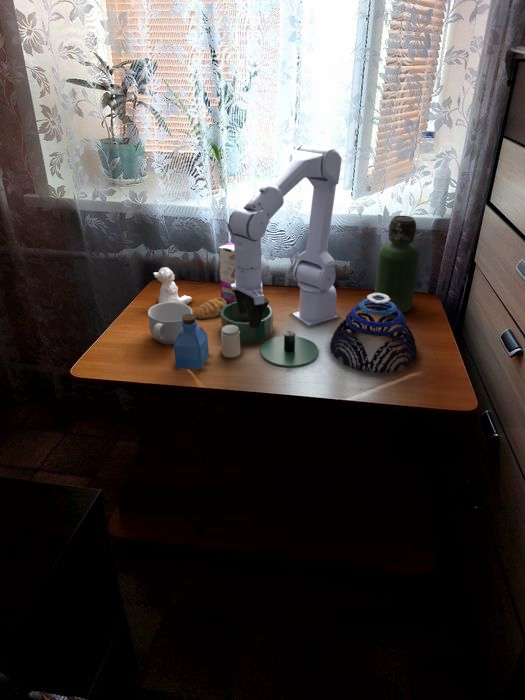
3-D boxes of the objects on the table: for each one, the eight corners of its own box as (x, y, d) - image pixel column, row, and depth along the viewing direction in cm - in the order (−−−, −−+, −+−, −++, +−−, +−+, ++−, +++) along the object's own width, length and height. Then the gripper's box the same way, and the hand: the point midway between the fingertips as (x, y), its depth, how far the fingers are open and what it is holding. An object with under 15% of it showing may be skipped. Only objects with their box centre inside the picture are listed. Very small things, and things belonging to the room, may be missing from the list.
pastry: (202, 323, 143) (201, 310, 141) (189, 315, 147) (188, 302, 145) (231, 313, 148) (230, 300, 146) (217, 305, 152) (216, 293, 150)
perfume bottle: (201, 370, 123) (198, 324, 117) (175, 368, 124) (171, 322, 118) (208, 356, 128) (205, 311, 122) (184, 354, 129) (179, 309, 123)
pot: (256, 316, 146) (256, 296, 143) (282, 336, 136) (282, 315, 133) (213, 328, 140) (212, 307, 137) (236, 350, 131) (236, 328, 128)
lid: (297, 334, 137) (297, 314, 134) (329, 358, 127) (331, 338, 124) (250, 348, 131) (249, 328, 128) (280, 375, 121) (280, 354, 118)
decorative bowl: (313, 344, 133) (316, 291, 125) (376, 324, 141) (382, 273, 134) (366, 384, 118) (372, 326, 111) (432, 359, 127) (442, 303, 119)
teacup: (167, 325, 142) (164, 297, 138) (202, 333, 138) (200, 305, 134) (134, 349, 131) (130, 320, 127) (171, 359, 127) (168, 330, 123)
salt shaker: (235, 347, 132) (234, 322, 128) (243, 356, 128) (243, 330, 125) (219, 352, 130) (217, 327, 126) (227, 361, 127) (226, 335, 123)
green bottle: (371, 297, 155) (381, 212, 143) (408, 298, 155) (421, 212, 142) (375, 314, 147) (385, 224, 134) (414, 315, 146) (427, 225, 133)
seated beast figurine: (193, 301, 154) (189, 262, 148) (181, 315, 147) (177, 274, 141) (162, 298, 156) (157, 259, 150) (149, 311, 149) (144, 271, 143)
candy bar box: (262, 303, 153) (262, 248, 144) (253, 310, 149) (252, 254, 140) (230, 295, 158) (228, 241, 149) (220, 301, 154) (217, 246, 146)
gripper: (221, 255, 122) (224, 309, 129) (240, 279, 110) (242, 337, 117) (250, 251, 124) (251, 304, 131) (273, 274, 112) (273, 331, 120)
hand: (249, 319), depth 124 cm, fingers open, 7 cm apart
